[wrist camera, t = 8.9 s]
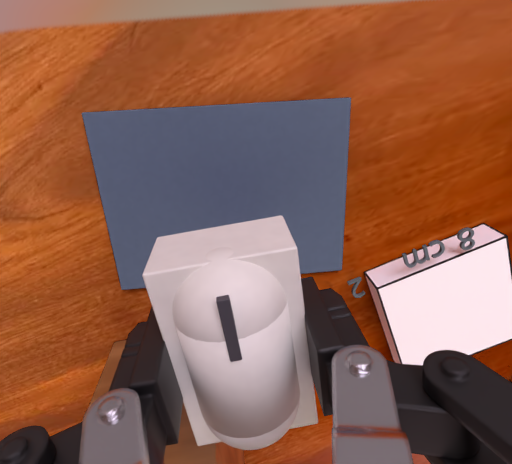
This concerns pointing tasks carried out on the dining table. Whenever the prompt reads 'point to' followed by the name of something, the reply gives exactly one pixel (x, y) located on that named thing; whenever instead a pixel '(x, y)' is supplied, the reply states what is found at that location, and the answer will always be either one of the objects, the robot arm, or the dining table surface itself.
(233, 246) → the white boxy piece
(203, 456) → the block
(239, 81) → the dining table surface
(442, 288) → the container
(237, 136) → the mouse pad
